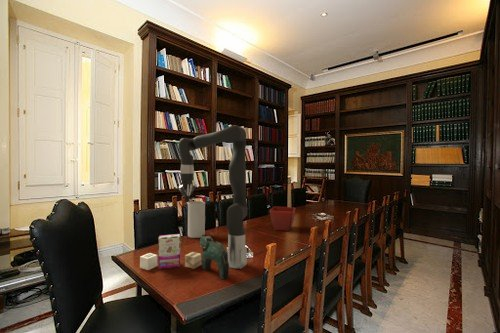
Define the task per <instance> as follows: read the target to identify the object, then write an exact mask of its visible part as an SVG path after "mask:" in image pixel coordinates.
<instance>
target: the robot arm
mask: <svg viewBox="0 0 500 333" xmlns="http://www.w3.org/2000/svg"><path fill="white" fill-rule="evenodd" d="M228 142H229V143H232V155H231V159H230V162H229V165H228V182H229V186H230V187H231V191H232V194H233V195H232V196H233V202H232V204H231V205H230V206H229V207H228V208H227V209H226V229H227V231H228V233H227V237H228V238H227V255H228V262H229V269H230V268H231V269H242V268H245V267H246V266H247V261H248V260H247V255H248V254H247V252H248V250H247V249H248V248H247V247H246V228H245V227H244V219H246V217H247V215H248V204H247V194H246V192H247V182H246V181H247V171H246V169H247V168H246V146H247V132H246V130H245V128H244V127H242V126H239V125H237V124H236V125H235V124H233V125H230V126H227V127H224V128H223V129H220V130H217V131H214V132H210V133H205V134H202V135H201V134H200V135H196V136H195V137H194V138H187V137H182V138H180V139H179V142H178V151H179V155H180V182H181V183H180V186H178V187H177V189H178V191H179V192H180V194H181V195H182V196H183V197H184V198H183V199H184V200H183V201H184V203H188V202H190V200H191V199H190V198H191V197H190V196H191V195H193V194H194V191H195V189H196V185H194V182H193V181H194V180H195V173H194V172H195V169H194V168H195V167H194V156H193V155H192V154H191V152H190V151H196V150H198V149H202V148H207V147H212V146H214V145H216V144H219V143H228Z"/></svg>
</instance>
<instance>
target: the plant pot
mask: <svg viewBox="0 0 500 333" xmlns="http://www.w3.org/2000/svg"><path fill="white" fill-rule="evenodd" d="M295 214H296V207H292V206H291V207H290V206H273V207H272V208H270V209H269V216H270V220H271V224H272V227H273V230H274V231H283V232H284V231H286V232H289V231H290V230H291V229H292V226H293V223H294V219H295Z"/></svg>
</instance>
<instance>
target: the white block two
mask: <svg viewBox="0 0 500 333" xmlns="http://www.w3.org/2000/svg"><path fill="white" fill-rule="evenodd" d="M156 267H158V254H155V253H152V252H149V253H148V252H147V253H146V254H143V255H141V256H139V268H140V269H143V270H145V271H150V270H152V269H155V268H156Z"/></svg>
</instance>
